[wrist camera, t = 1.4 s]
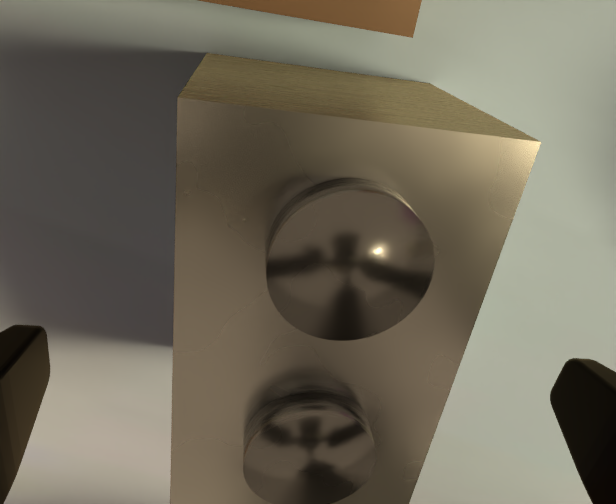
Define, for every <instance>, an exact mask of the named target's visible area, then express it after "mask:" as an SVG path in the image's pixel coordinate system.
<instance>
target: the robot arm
mask: <svg viewBox="0 0 616 504" xmlns="http://www.w3.org/2000/svg"><path fill="white" fill-rule="evenodd" d="M49 377H50V360H49V351H48V342H47V334H46V331H45V329H44V328H43V327H41V326H34V325H13V326H11V327H9V328H7V329H6V330H4V331H2V332H0V504H4V501H5V499H6V497H7V495H8V493H9V491H10V489H11V486H12V484H13V482H14V479H15V477H16V475H17V472H18V469H19V467H20V464H21V461H22V458H23V455H24V452H25V449H26V447H27V444H28V441H29V438H30V435H31V432H32V429H33V426H34V423H35V420H36V417H37V414H38V411H39V408H40V405H41V402H42V399H43V396H44V394H45V391H46V388H47V385H48V381H49ZM550 401H551V405H552V408H553V410H554V413H555V415H556V418H557V420H558V423H559V426H560V428H561V431H562V433H563V436H564V438H565V441H566V443H567V446H568V448H569V451H570V453H571V456H572V458H573V461H574V463H575V466H576V468H577V471H578V473H579V475H580V478H581V480H582V482H583V485H584V487H585V489H586V491H587V493H588V495H589V497H590V499H591V501H592V503H593V504H616V372H614V371H613V370H611V369H609V368H607V367H605V366H604V365H602V364H600V363H598V362H597V361H594V360H591V359H579V358H573V359H569V360H568V361H567V362H566V363H565V365H564V366H563V368H562V370H561V372H560V374H559V376H558V378H557V380H556V382H555V384H554V386H553V388H552V390H551V394H550Z"/></svg>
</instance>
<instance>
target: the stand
mask: <svg viewBox="0 0 616 504" xmlns="http://www.w3.org/2000/svg"><path fill="white" fill-rule="evenodd" d="M199 1H205V2H210V3H216V4H222V5H228V6H234V7H239V8H245V9H251V10H257V11H262V12H268V13H274V14H280V15H285V16H291V17H297V18H303V19H309V20H314V21H320V22H326V23H332V24H337V25H343V26H349V27H355V28H360V29H366V30H372V31H378V32H384V33H389V34H395V35H401V36H407V37H412V38H413V34H414V30H415V26H416V22H417V17H418V13H419V9H420V5H421V1H422V0H199Z"/></svg>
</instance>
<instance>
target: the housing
mask: <svg viewBox="0 0 616 504" xmlns="http://www.w3.org/2000/svg"><path fill="white" fill-rule="evenodd" d="M540 144H541V142H540V141H538V140H537V139H535V138H533V137H531V136H529V135H527V134H525V133H523V132H521V131H519V130H518V129H516V128H514V127H512V126H510V125H508V124H506V123H504V122H502V121H500V120H498V119H497V118H495V117H493V116H491V115H489V114H487V113H485V112H483V111H481V110H479V109H477V108H476V107H474V106H472V105H470V104H468V103H466V102H464V101H462V100H460V99H458V98H456V97H455V96H453V95H451V94H449V93H447V92H445V91H443V90H441V89H439V88H437V87H435V86H434V85H432V84H430V83H423V82H415V81H408V80H401V79H394V78H386V77H379V76H372V75H365V74H357V73H350V72H343V71H335V70H328V69H321V68H314V67H306V66H299V65H292V64H284V63H277V62H270V61H263V60H255V59H248V58H241V57H234V56H226V55H219V54H212V53H207V54H206V55H205V57H204V58H203V60H202V61H201V63H200V64H199V66H198V67H197V69H196V70H195V72H194V73H193V75H192V76H191V78H190V79H189V81H188V82H187V84H186V85H185V87H184V88H183V90H182V91H181V93H180V94H179V96H178V98H177V153H176V208H175V264H174V320H173V376H172V432H171V487H170V504H409V502H410V499H411V496H412V494H413V491H414V488H415V485H416V483H417V480H418V477H419V474H420V472H421V469H422V466H423V463H424V461H425V458H426V455H427V453H428V450H429V447H430V444H431V442H432V439H433V436H434V433H435V431H436V428H437V425H438V422H439V420H440V417H441V414H442V412H443V409H444V406H445V403H446V401H447V398H448V395H449V392H450V390H451V387H452V384H453V382H454V379H455V376H456V373H457V371H458V368H459V365H460V362H461V360H462V357H463V354H464V351H465V349H466V346H467V343H468V341H469V338H470V335H471V332H472V330H473V327H474V324H475V321H476V319H477V316H478V313H479V310H480V308H481V305H482V302H483V300H484V297H485V294H486V291H487V289H488V286H489V283H490V280H491V278H492V275H493V272H494V269H495V267H496V264H497V261H498V259H499V256H500V253H501V250H502V248H503V245H504V242H505V239H506V237H507V234H508V231H509V228H510V226H511V223H512V220H513V218H514V215H515V212H516V209H517V207H518V204H519V201H520V198H521V196H522V193H523V190H524V187H525V185H526V182H527V179H528V177H529V174H530V171H531V168H532V166H533V163H534V160H535V157H536V155H537V152H538V149H539V146H540Z"/></svg>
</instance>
